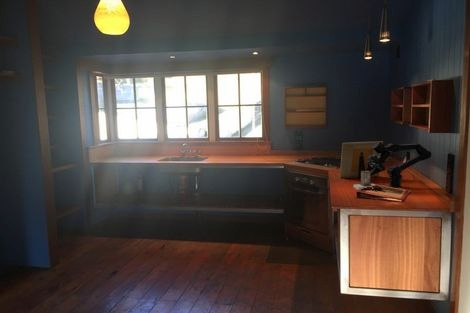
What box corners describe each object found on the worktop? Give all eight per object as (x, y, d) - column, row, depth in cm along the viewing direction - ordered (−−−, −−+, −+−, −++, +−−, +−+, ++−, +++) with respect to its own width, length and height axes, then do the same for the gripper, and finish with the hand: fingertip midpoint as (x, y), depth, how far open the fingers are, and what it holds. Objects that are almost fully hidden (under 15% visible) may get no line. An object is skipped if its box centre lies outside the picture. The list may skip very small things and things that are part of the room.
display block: (372, 186, 271) (372, 183, 270) (378, 189, 261) (378, 186, 260) (353, 187, 270) (353, 184, 270) (358, 189, 260) (358, 187, 260)
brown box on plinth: (368, 184, 268) (368, 170, 267) (371, 185, 263) (371, 171, 262) (360, 184, 268) (359, 171, 267) (363, 186, 262) (363, 172, 261)
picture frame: (378, 176, 312) (378, 140, 309) (383, 178, 302) (383, 141, 299) (339, 178, 311) (339, 142, 308) (343, 180, 301) (343, 143, 298)
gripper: (368, 149, 272) (354, 165, 273) (381, 151, 254) (365, 168, 254) (379, 159, 274) (365, 175, 274) (392, 162, 255) (376, 179, 256)
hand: (367, 174), depth 264 cm, fingers open, 9 cm apart
